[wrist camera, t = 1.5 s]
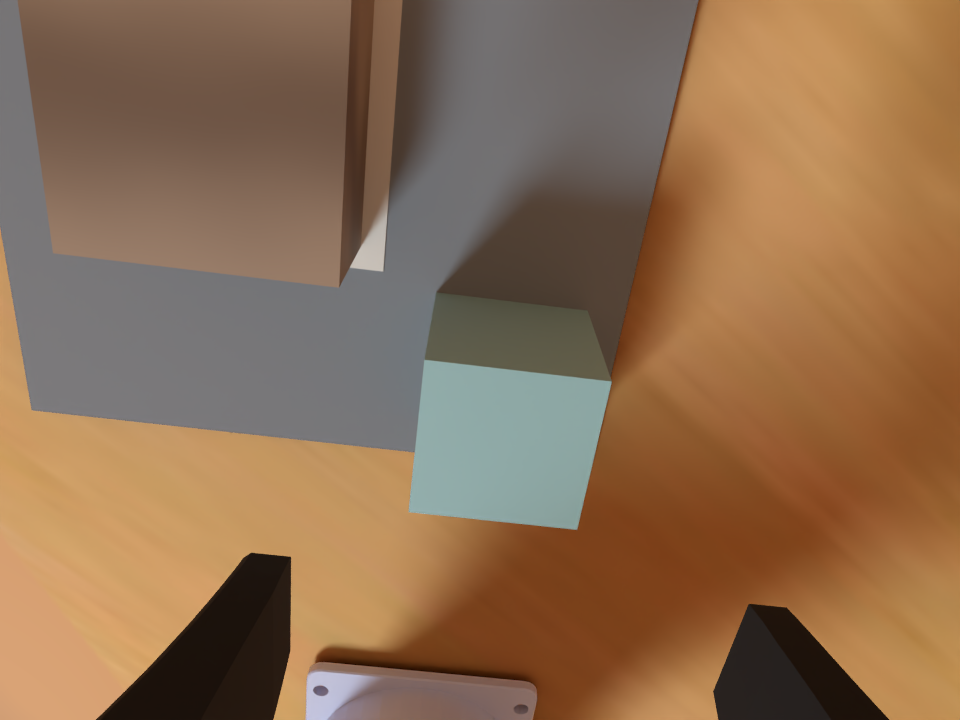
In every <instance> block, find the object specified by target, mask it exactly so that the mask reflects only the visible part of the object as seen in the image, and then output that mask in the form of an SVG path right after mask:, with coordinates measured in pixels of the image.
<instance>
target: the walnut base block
mask: <svg viewBox="0 0 960 720" xmlns="http://www.w3.org/2000/svg"><path fill="white" fill-rule="evenodd" d="M374 2H375V0H18V7H19V15H20V22H21V29H22V36H23V43H24V50H25V57H26V64H27V71H28V78H29V86H30V93H31V100H32V107H33V114H34V121H35V128H36V135H37V142H38V149H39V156H40V164H41V171H42V178H43V185H44V192H45V199H46V206H47V213H48V220H49V227H50V234H51V242H52V249H53V253H55V254H64V255H72V256H80V257H88V258H97V259H105V260H113V261H122V262H130V263H138V264H147V265H155V266H163V267H171V268H180V269H188V270H196V271H205V272H213V273H221V274H229V275H238V276H246V277H254V278H263V279H271V280H279V281H287V282H296V283H304V284H312V285H321V286H329V287H337V288H339V287H340V285H341V283H342V281H343V279H344V278H345V276H346V274H347V272H348V270H349V268H350V266H351V264H352V262H353V261H354V259H355V257H356V255H357V253H358V251H359V249H360V247H361V237H362V219H363V201H364V183H365V165H366V147H367V129H368V111H369V93H370V75H371V56H372V38H373V20H374Z"/></svg>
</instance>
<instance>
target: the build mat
mask: <svg viewBox="0 0 960 720" xmlns="http://www.w3.org/2000/svg"><path fill="white" fill-rule="evenodd" d="M697 4H698V0H375V2H374V20H373V38H372V56H371V75H370V93H369V111H368V129H367V147H366V165H365V183H364V201H363V219H362V237H361V247H360V249H359V251H358V253H357V255H356V257H355V259H354V261H353V262H352V264H351V266H350V268H349V270H348V272H347V274H346V276H345V278H344V279H343V281H342V283H341V285H340V287H339V288H337V287H329V286H321V285H312V284H304V283H296V282H287V281H279V280H271V279H263V278H254V277H246V276H238V275H229V274H221V273H213V272H205V271H196V270H188V269H180V268H171V267H163V266H155V265H147V264H138V263H130V262H122V261H113V260H105V259H97V258H88V257H80V256H72V255H64V254H55V253H53V249H52V242H51V234H50V227H49V220H48V213H47V206H46V199H45V192H44V185H43V178H42V171H41V164H40V156H39V149H38V142H37V135H36V128H35V121H34V114H33V107H32V100H31V93H30V86H29V78H28V71H27V64H26V57H25V50H24V43H23V36H22V29H21V22H20V15H19V7H18V0H0V228H1V234H2V240H3V246H4V251H5V257H6V263H7V269H8V275H9V281H10V286H11V292H12V298H13V304H14V310H15V315H16V321H17V327H18V333H19V339H20V345H21V350H22V356H23V362H24V368H25V374H26V379H27V385H28V391H29V397H30V403H31V409H32V410H34V411H43V412H53V413H62V414H71V415H80V416H89V417H98V418H107V419H116V420H125V421H134V422H144V423H153V424H162V425H171V426H180V427H189V428H198V429H207V430H216V431H225V432H235V433H244V434H253V435H262V436H271V437H280V438H289V439H298V440H307V441H317V442H326V443H335V444H344V445H353V446H362V447H371V448H380V449H389V450H398V451H408V452H415V446H416V436H417V427H418V417H419V407H420V397H421V388H422V378H423V368H424V359H425V353H426V348H427V342H428V336H429V330H430V325H431V319H432V313H433V308H434V302H435V296H436V292H438V293H446V294H454V295H463V296H471V297H479V298H487V299H496V300H504V301H512V302H520V303H529V304H537V305H545V306H553V307H562V308H570V309H578V310H587V311H588V313H589V316H590V319H591V322H592V325H593V328H594V331H595V334H596V337H597V339H598V342H599V345H600V348H601V351H602V354H603V357H604V360H605V363H606V366H607V369H608V372H609V375H610V377H611V373H612V369H613V365H614V360H615V356H616V352H617V347H618V343H619V339H620V335H621V330H622V326H623V322H624V317H625V313H626V309H627V305H628V300H629V296H630V292H631V287H632V283H633V279H634V275H635V270H636V266H637V262H638V257H639V253H640V249H641V245H642V240H643V236H644V232H645V227H646V223H647V219H648V215H649V210H650V206H651V202H652V197H653V193H654V189H655V185H656V180H657V176H658V172H659V167H660V163H661V159H662V154H663V150H664V146H665V142H666V137H667V133H668V129H669V124H670V120H671V116H672V112H673V107H674V103H675V99H676V94H677V90H678V86H679V82H680V77H681V73H682V69H683V64H684V60H685V56H686V52H687V47H688V43H689V39H690V34H691V30H692V26H693V22H694V17H695V13H696V9H697Z"/></svg>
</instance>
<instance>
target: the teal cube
mask: <svg viewBox="0 0 960 720" xmlns="http://www.w3.org/2000/svg"><path fill="white" fill-rule="evenodd" d="M611 383H612V381H611V378H610V375H609V372H608V369H607V366H606V363H605V360H604V357H603V354H602V351H601V348H600V345H599V342H598V339H597V337H596V334H595V331H594V328H593V325H592V322H591V319H590V316H589V313H588V311H587V310H578V309H570V308H562V307H553V306H545V305H537V304H529V303H520V302H512V301H504V300H496V299H487V298H479V297H471V296H463V295H454V294H446V293H438V292H436V296H435V302H434V308H433V313H432V319H431V325H430V330H429V336H428V342H427V348H426V353H425V359H424V368H423V378H422V388H421V397H420V407H419V417H418V427H417V436H416V446H415V456H414V465H413V475H412V485H411V495H410V504H409V512H413V513H422V514H432V515H441V516H451V517H460V518H470V519H479V520H489V521H498V522H508V523H517V524H527V525H536V526H545V527H555V528H564V529H574V530H577V528H578V524H579V519H580V515H581V511H582V507H583V502H584V498H585V494H586V490H587V485H588V481H589V477H590V473H591V468H592V464H593V460H594V456H595V451H596V447H597V443H598V439H599V434H600V430H601V426H602V421H603V417H604V413H605V409H606V404H607V400H608V396H609V392H610V387H611Z"/></svg>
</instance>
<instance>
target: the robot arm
mask: <svg viewBox="0 0 960 720" xmlns="http://www.w3.org/2000/svg"><path fill="white" fill-rule="evenodd" d="M290 615H291V557H286V556H277V555H267V554H257V553H250V554H249V555H247V556H246V557H244V558H243V559H242V561H241V562H240V563H239V565H238V566H237V567H236V569H235V570H234V571H233V572H232V574H231V575H230V576H229V577H228V579H227V580H226V581H225V582H224V584H223V585H222V586H221V587H220V588H219V590H218V591H217V592H216V593H215V594H214V596H213V597H212V598H211V599H210V600H209V602H208V603H207V604H206V605H205V606H204V607H203V609H202V610H201V611H200V612H199V613H198V614H197V615H196V617H195V618H194V619H193V620H192V621H191V622H190V623H189V625H188V626H187V627H186V628H185V629H184V630H183V631H182V632H181V633H180V634H179V635H178V637H177V638H176V639H175V640H174V641H173V642H172V643H171V644H170V645H169V646H168V647H167V649H166V650H165V651H164V652H163V653H162V654H161V655H160V656H159V657H158V658H157V659H156V660H155V662H154V663H153V664H152V665H151V666H150V667H149V668H148V669H147V670H146V671H145V672H144V673H143V674H142V675H141V676H140V677H139V678H138V679H137V680H136V681H135V682H134V683H133V684H132V685H131V686H130V687H129V688H128V689H127V690H126V691H125V692H124V693H123V694H122V695H121V696H120V697H119V698H118V699H117V700H116V701H115V702H114V703H113V704H112V705H111V706H110V707H109V708H108V709H107V710H106V711H105V712H104V713H103V714H102V715H101V716H99V717H98V718H97V719H96V720H273V718H274V715H275V711H276V707H277V703H278V699H279V695H280V691H281V687H282V683H283V679H284V675H285V671H286V666H287V662H288V658H289V654H290ZM320 685H321V686H320ZM713 692H714V698H715V703H716V709H717V714H718V720H889V719H888V718H887V717H886V716H885V715H884V713H883V712H882V711H881V710H880V709H879V708H878V707H877V706H876V705H875V704H874V703H873V702H872V701H871V699H870V698H869V697H868V696H867V695H866V694H865V693H864V692H863V691H862V690H861V689H860V688H859V686H858V685H857V684H856V683H855V682H854V681H853V680H852V679H851V678H850V676H849V675H848V674H847V673H846V672H845V671H844V670H843V669H842V668H841V667H840V665H839V664H838V663H837V662H836V661H835V660H834V659H833V658H832V657H831V655H830V654H829V653H828V652H827V651H826V650H825V649H824V648H823V647H822V645H821V644H820V643H819V642H818V641H817V640H816V639H815V638H814V637H813V636H812V634H811V633H810V632H809V631H808V630H807V629H806V628H805V627H804V626H803V625H802V624H801V622H800V621H799V620H798V619H797V618H796V617H795V616H794V615H793V614H792V613H791V612H790V611H789V610H788V609H787V608H784V607H775V606H765V605H755V604H749V605H748V607H747V610H746V612H745V615H744V617H743V620H742V622H741V625H740V627H739V630H738V632H737V634H736V637H735V639H734V642H733V644H732V647H731V649H730V652H729V654H728V657H727V659H726V662H725V664H724V667H723V669H722V671H721V674H720V676H719V679H718V681H717V684H716V686H715V689H714V691H713ZM536 703H537V689H536V687H535V686H534V685H533V684H532V683H530V682H527V681H520V680H509V679H498V678H488V677H477V676H467V675H456V674H446V673H435V672H425V671H414V670H403V669H393V668H382V667H372V666H361V665H351V664H340V663H330V662H318V663H315V664H313V665H312V666H311V667H310V669H309V672H308V676H307V694H306V720H533V716H534V711H535V707H536ZM519 704H522V705H519Z"/></svg>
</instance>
